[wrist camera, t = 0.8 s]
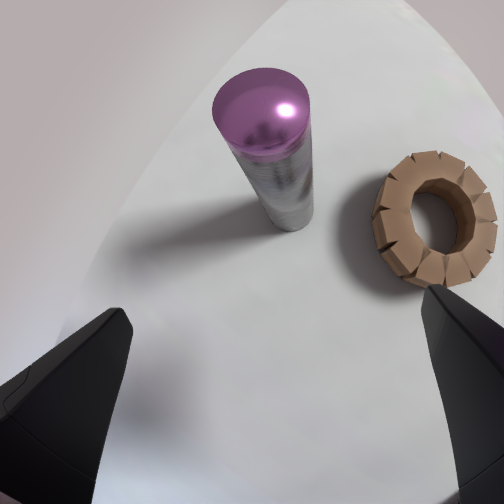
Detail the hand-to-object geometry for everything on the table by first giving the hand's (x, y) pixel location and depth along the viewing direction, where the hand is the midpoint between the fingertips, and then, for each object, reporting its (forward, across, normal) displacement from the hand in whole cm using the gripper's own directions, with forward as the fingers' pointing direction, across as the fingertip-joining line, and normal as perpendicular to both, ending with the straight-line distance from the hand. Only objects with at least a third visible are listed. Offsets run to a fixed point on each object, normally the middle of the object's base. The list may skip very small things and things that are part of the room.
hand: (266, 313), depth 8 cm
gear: (+13, -10, +5) cm, 17 cm away
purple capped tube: (+14, 0, +3) cm, 14 cm away
